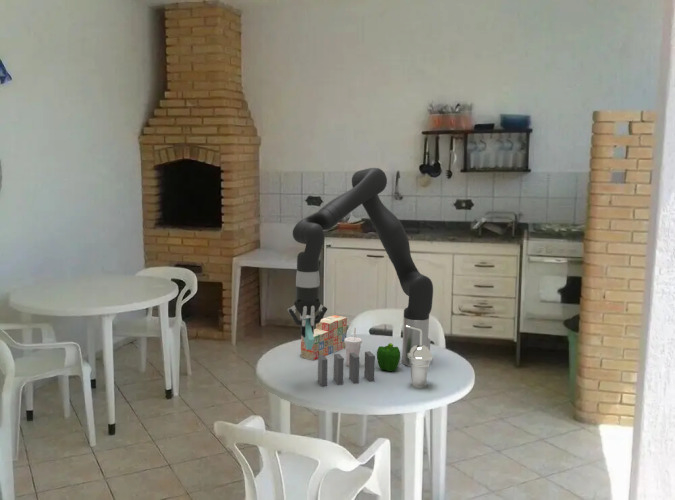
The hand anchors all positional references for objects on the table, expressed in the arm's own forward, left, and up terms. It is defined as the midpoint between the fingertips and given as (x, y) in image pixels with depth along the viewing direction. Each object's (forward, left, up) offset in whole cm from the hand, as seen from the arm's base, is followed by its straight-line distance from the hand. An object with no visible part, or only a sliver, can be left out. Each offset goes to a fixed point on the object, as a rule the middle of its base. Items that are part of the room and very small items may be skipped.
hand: (306, 336), depth 208 cm
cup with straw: (-36, +9, -17) cm, 41 cm away
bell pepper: (-32, -8, -17) cm, 37 cm away
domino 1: (0, +4, -2) cm, 5 cm away
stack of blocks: (-15, -32, -17) cm, 40 cm away
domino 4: (-17, 0, -17) cm, 23 cm away
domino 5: (-22, 0, -17) cm, 28 cm away
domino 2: (-6, 0, -17) cm, 17 cm away
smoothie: (-21, -15, -17) cm, 31 cm away
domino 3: (-11, 0, -17) cm, 20 cm away
